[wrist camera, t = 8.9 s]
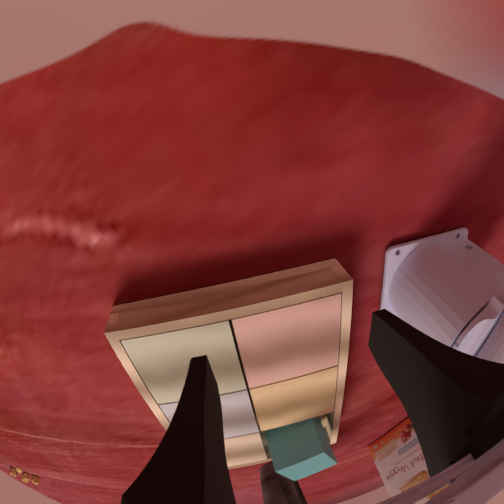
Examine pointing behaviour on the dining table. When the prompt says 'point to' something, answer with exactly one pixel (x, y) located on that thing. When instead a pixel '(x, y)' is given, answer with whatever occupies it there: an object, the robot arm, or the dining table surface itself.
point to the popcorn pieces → (24, 475)
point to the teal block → (300, 449)
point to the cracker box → (401, 460)
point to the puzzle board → (236, 307)
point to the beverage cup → (279, 487)
